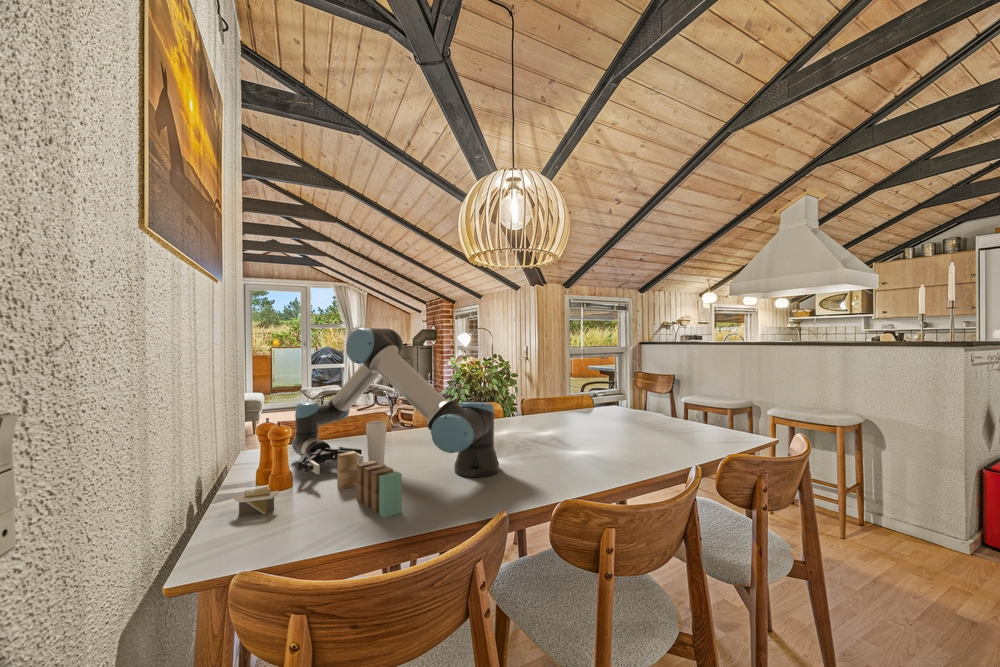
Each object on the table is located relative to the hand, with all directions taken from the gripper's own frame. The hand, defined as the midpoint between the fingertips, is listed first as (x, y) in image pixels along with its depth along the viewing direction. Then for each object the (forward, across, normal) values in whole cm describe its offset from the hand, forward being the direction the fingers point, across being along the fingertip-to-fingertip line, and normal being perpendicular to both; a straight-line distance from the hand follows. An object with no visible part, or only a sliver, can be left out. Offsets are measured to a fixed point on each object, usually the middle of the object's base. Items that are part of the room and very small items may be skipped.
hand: (341, 464), depth 125 cm
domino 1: (+4, 0, -6) cm, 7 cm away
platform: (+6, +24, -6) cm, 26 cm away
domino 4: (+26, 0, -6) cm, 27 cm away
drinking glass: (-9, -16, -6) cm, 20 cm away
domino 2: (+17, 0, -6) cm, 18 cm away
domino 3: (+22, 0, -6) cm, 22 cm away
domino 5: (+30, 0, -6) cm, 31 cm away
